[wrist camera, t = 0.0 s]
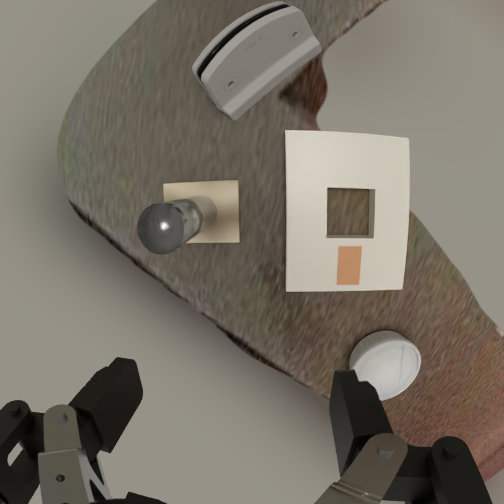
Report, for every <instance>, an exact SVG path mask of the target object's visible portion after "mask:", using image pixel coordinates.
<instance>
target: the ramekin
mask: <svg viewBox="0 0 504 504" xmlns="http://www.w3.org/2000/svg"><path fill="white" fill-rule="evenodd" d="M420 365H421V356H420V353H419V350H418V349H417V347H416V346H415V345H414V344H413V343H412V342H410V341H409V340H406V339H405V338H404V337H403V336H401V335H400V334H398V333H397V332H394V331H386V330H385V331H378V332H375V333H372V334H370V335H368V336H366V337H365V338H363V339H362V340H361V341H360V342H359V343H358V344H357V345H356V346H355V348H354V350H353V351H352V354H351V357H350V362H349V368H350V369H354V370H355V372H356V374H357V377H358V380H359V381H368V382H369V383H370V384H371V385H372V386H374V387H375V388H376V391H377V393H378V395H379V399H380V400H386V399H389V398H392V397H394V396H396V395H398V394H400V393H401V392H402V391H404V390H405V389H406V388H407V387H408V386H409V385H410V384H411V383H412V382H413V380H414V379H415V378H416V376H417V374H418V372H419V369H420Z"/></svg>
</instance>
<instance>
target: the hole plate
mask: <svg viewBox="0 0 504 504" xmlns="http://www.w3.org/2000/svg"><path fill="white" fill-rule="evenodd" d="M285 161H286V292H298V291H366V290H397V289H402V286H403V279H404V270H405V261H406V251H407V239H408V223H409V197H410V158H409V138H402V137H394V136H385V135H375V134H363V133H349V132H331V131H299V130H285ZM327 187H333V188H362V189H369V226H368V235H327Z"/></svg>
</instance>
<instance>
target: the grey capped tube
mask: <svg viewBox="0 0 504 504" xmlns="http://www.w3.org/2000/svg"><path fill="white" fill-rule="evenodd" d="M216 217H217V209H216V206H215V204H214V202H213V201H212V200H211V199H210V198H208V197H206V196H194V197H188V198H183V199H178V200H172V201H167V202H162V203H157V204H153V205H151V206H149V207H147V208H146V209H145V210H144V211H143V212H142V214H141V215H140V217H139V220H138V226H137V230H138V235H139V238H140V240H141V242H142V244H143V245H144V246H145V247H146V248H147V249H148V250H149V251H151V252H153V253H156V254H168V253H171V252H173V251H174V250H176V249H177V248H179V247H180V246H182V245H183V244H184V243H186V242H187V241H189V240H190V239H192V238H193V237H195V236H196V235H198V234H199V233H201V232H202V231H204V230H205V229H207V228H208V227H210V226H211V225H212V224H213V223H214V222H215V220H216Z"/></svg>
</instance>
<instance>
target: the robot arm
mask: <svg viewBox="0 0 504 504" xmlns="http://www.w3.org/2000/svg"><path fill="white" fill-rule="evenodd" d="M142 397H143V388H142V384H141V380H140V377H139V372H138V368H137V364H136V362H135V361H134V360H132V359H126V358H120V357H117V358H116V359H115V360H114V361H113V362H112V363H111V364H110V365H109V366H108V367H107V366H106V367H104V368H103V369H101V370H99V371H97V372H96V373H95V374H94V376H93V377H92V378H91V380H90V381H88V382H87V384H86V386H84V387H83V388H82V389H81V390H80V392H79V393H78V394H77V395H76V396H75V397H74V398H73V400H72V401H71V402H70V403H69V404H68V405H56V406H53V407H51V408H49V409H48V410H47V411H46V412H45V413H37V412H31V410H30V408H29V406H28V404H27V403H26V402H24V401H22V400H14V401H11V402H9V403H7V404H6V405H5V406H4V407H3V408H2V409H1V410H0V504H28V503H29V501H30V499H31V498H32V496H33V494H34V493H35V491H36V489H37V488H38V486H39V484H40V488H41V496H42V503H43V504H166V503H164V502H162V501H160V500H158V499H153V498H149V497H146V496H142V495H139V494H135V493H132V492H128V494H127V496H126V498H125V499H113V498H112V496H111V494H110V492H109V489H108V486H107V483H106V480H105V477H104V473H103V470H102V466H101V463H100V459H99V457H98V455H97V454H98V452H99V451H100V450H102V451H105V452H108V453H111V452H112V450H113V448H114V447H115V445H116V443H117V441H118V440H119V438H120V436H121V435H122V433H123V431H124V430H125V427H126V426H127V424H128V423H129V421H130V419H131V418H132V416H133V414H134V413H135V411H136V409H137V408H138V406H139V404H140V403H141V400H142ZM329 411H330V418H331V423H332V429H333V435H334V441H335V447H336V453H337V459H338V466H339V472H340V477H341V478H340V480H339V481H338V482H337V483H335V482H334V483H333V484H331V485H330V486H329V488H328V489H327V490H326V491H325V492H324V493H323V494H322V495H321V497H320V498H319V499H318V500H317V501H316V502H315V503H314V504H379V503H380V501H381V500H388V501H405V504H492V501H491V499H490V496H489V494H488V491H487V489H486V486H485V484H484V481H483V479H482V477H481V474H480V472H479V470H478V468H477V465H476V463H475V461H474V459H473V457H472V454H471V452H470V450H469V448H468V446H467V444H466V443H465V442H464V441H463V440H461V439H459V438H457V437H452V436H447V437H442V438H440V439H438V440H437V441H436V442H435V443H434V444H433V446H432V447H416V446H409V445H407V444H406V442H405V441H404V440H403V439H402V438H401V437H399V436H397V435H395V434H394V433H393V431H392V428H391V426H390V423H389V421H388V418H387V415H386V413H385V410H384V408H383V407H382V403H381V400H380V399H379V395H378V393H377V391H376V388H375V387H374V386H372V385H371V384H370V383H369V382H368V381H359V380H358V377H357V374H356V372H355V370H354V369H350V370H335V372H334V377H333V384H332V390H331V396H330V404H329ZM17 443H19V444H20V446H21V447H22V448H23V450H22V451H21V452H20V454H19V455H18V456H17V458H16V459H15V461H14V462H13V463H12V465H11V466H9V465H8V462H7V458H8V455H9V453H10V452H11V451H12V449H13V448H14V447H15V446H16V444H17Z"/></svg>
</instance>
